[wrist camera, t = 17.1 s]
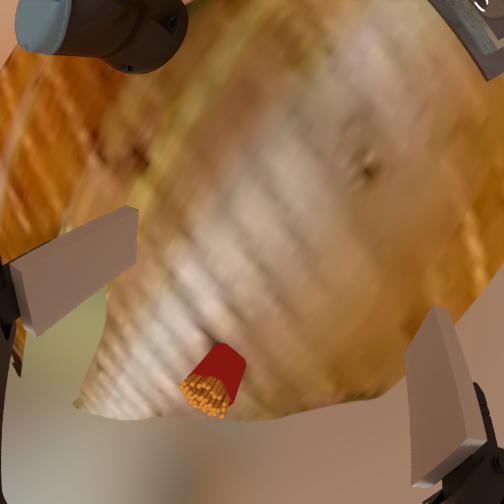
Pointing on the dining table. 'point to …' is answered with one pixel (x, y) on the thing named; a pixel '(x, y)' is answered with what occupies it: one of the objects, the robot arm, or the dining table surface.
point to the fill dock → (475, 34)
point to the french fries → (215, 380)
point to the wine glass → (490, 8)
